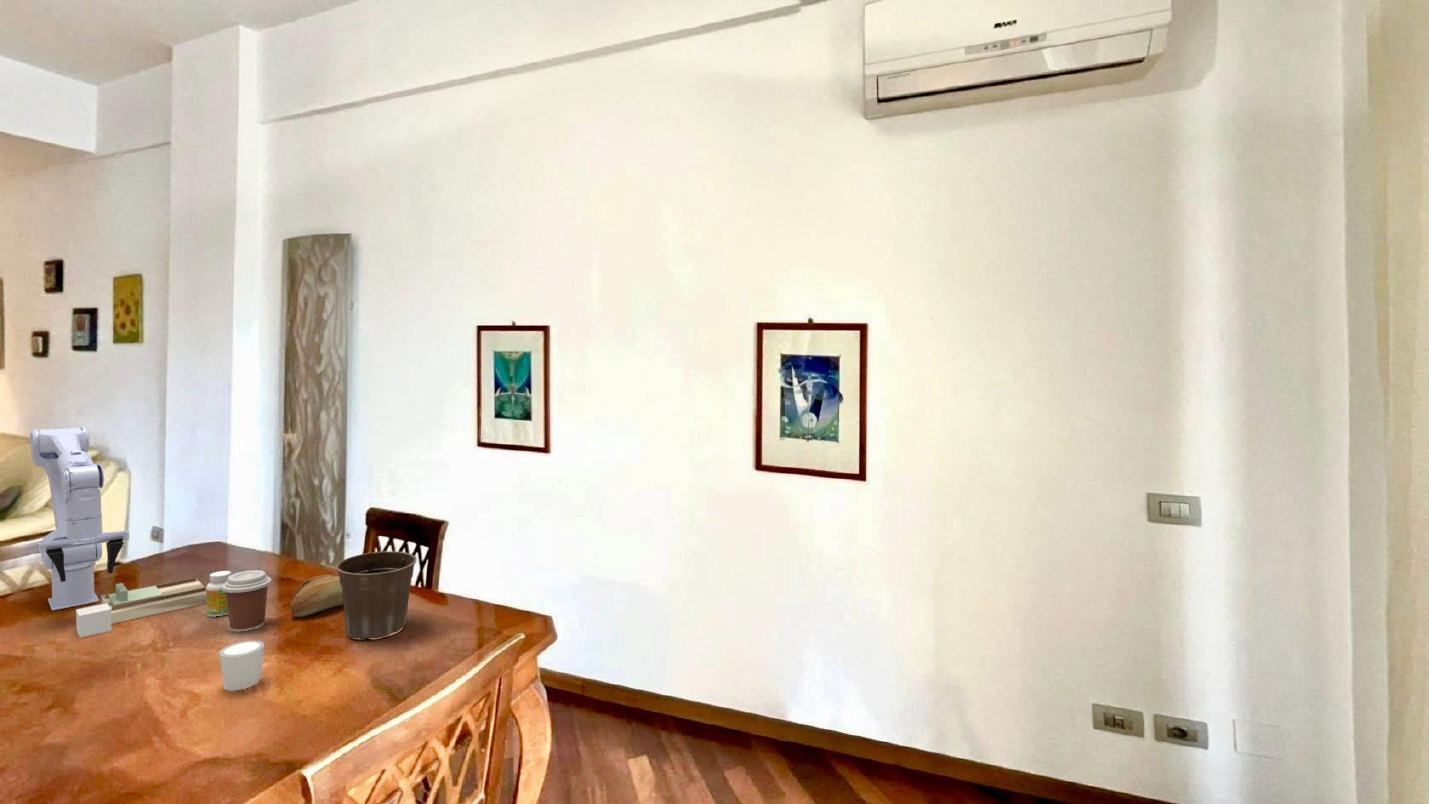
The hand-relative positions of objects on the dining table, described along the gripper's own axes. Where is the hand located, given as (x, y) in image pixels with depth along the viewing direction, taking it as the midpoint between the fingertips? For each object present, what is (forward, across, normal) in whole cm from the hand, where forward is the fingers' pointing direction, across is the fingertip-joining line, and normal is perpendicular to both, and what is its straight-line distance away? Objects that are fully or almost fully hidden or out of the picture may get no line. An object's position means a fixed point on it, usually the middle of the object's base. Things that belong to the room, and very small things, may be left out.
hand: (87, 576), depth 143 cm
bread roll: (+13, +38, -30) cm, 50 cm away
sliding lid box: (+10, +12, +1) cm, 16 cm away
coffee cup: (+12, +23, -29) cm, 39 cm away
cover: (+7, +8, +1) cm, 11 cm away
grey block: (+11, 0, -8) cm, 14 cm away
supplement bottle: (+12, +21, -16) cm, 29 cm away
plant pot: (+14, +42, -52) cm, 68 cm away
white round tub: (+14, +15, -58) cm, 61 cm away
